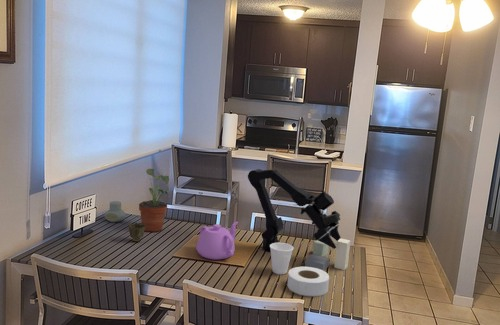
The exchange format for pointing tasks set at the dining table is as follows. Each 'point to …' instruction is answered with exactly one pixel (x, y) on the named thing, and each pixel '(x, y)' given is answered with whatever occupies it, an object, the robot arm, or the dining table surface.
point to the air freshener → (115, 212)
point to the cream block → (342, 254)
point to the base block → (317, 262)
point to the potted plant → (154, 207)
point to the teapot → (216, 242)
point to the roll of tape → (308, 281)
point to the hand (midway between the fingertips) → (338, 245)
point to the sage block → (320, 248)
